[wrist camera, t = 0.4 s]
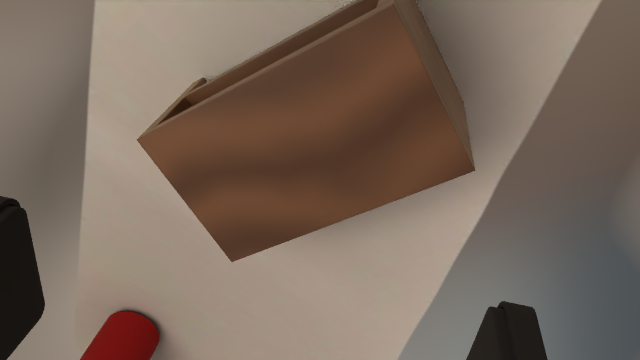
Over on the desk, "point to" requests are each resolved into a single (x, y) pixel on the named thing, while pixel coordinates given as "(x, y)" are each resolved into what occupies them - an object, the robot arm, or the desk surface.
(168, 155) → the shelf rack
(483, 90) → the desk surface
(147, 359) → the beverage can
